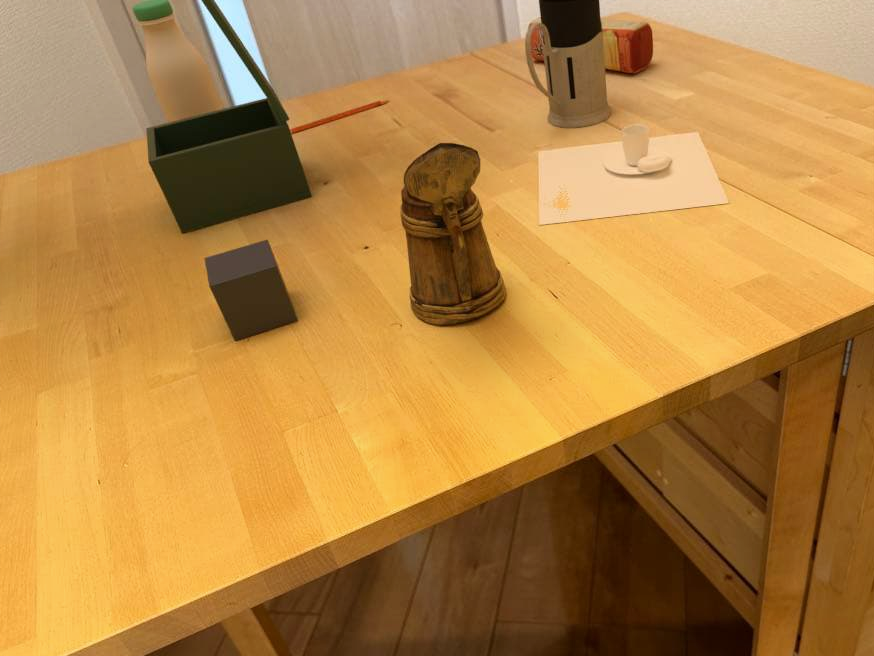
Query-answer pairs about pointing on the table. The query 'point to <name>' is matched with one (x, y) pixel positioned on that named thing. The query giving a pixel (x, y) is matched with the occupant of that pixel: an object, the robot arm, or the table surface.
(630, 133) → the teacup and saucer
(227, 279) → the block
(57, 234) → the table surface
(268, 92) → the lid
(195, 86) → the milk bottle
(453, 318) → the wooden mug
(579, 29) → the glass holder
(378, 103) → the pencil
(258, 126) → the chest
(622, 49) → the snack package
